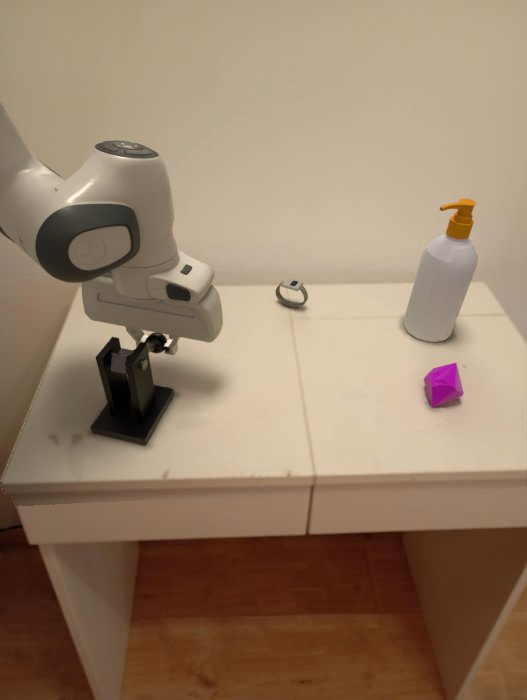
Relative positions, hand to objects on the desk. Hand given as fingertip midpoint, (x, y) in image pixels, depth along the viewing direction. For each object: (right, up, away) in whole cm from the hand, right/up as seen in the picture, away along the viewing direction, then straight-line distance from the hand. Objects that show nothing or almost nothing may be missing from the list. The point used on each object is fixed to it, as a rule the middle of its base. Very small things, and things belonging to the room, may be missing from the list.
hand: (157, 349), depth 71 cm
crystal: (+43, -7, +1) cm, 44 cm away
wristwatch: (+21, +8, +18) cm, 29 cm away
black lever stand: (-2, -9, -4) cm, 10 cm away
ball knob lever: (-1, -2, -5) cm, 5 cm away
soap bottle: (+45, +4, +14) cm, 48 cm away
